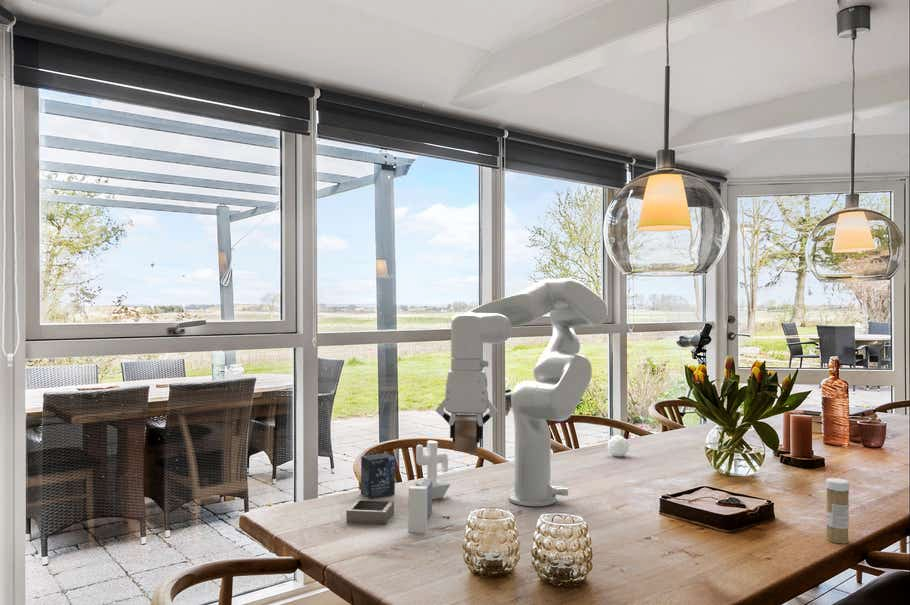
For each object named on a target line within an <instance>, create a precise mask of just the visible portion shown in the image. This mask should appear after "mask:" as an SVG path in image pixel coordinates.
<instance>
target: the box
mask: <svg viewBox="0 0 910 605" xmlns="http://www.w3.org/2000/svg"><path fill="white" fill-rule="evenodd" d="M360 461H361V464H360V495H362V496H363V497H365V498H367V499H368V500H372V499H374V498H380V497H385V496H394V495H396V493H395V492H396V491H395V490H396V487H395V486H396V456H394V455H392V454H389V453H386V452H384V453H376V454H370V455H369V454H368V455H361V460H360Z"/></svg>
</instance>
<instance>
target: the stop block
mask: <svg viewBox="0 0 910 605" xmlns="http://www.w3.org/2000/svg"><path fill="white" fill-rule="evenodd" d="M477 423H478V421H477V416H476V414H463V413H457V415H456V416H455V442H454V452H472V453H475V452H477V450H478V447H479V446H478V444H479V443H477V442H476V427H477Z"/></svg>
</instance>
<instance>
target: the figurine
mask: <svg viewBox="0 0 910 605" xmlns="http://www.w3.org/2000/svg"><path fill="white" fill-rule="evenodd" d="M438 446H439V442H438V441H437V440H433V439H431V440H426V452H427V453H425V454H424V447H423V445H422V444H417V445H416V447H415V450H416V451H415V456H416V457H415V459H416V460H415V462H416V464H417V465H418V466H420V467H421V466H422V467H423V466H426V471H427V472H426V479H431V480H432V500H435V499H436V500H437V499H442V498H444V497H445V495H446V493H447V491H448V489H449V487H450V486H451V483H448V482H447V481H444V480H442V479H440V478H438V464H440V470H441V472H443V473H447V472H448V471H449V457H448V454H447V452H444V451H443V452H442V451H440V452H438V448H439V447H438ZM423 481H424V479H423V480H419V481H413V482H414V486H420V485H421V484H422V482H423Z"/></svg>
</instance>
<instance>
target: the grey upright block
mask: <svg viewBox="0 0 910 605" xmlns="http://www.w3.org/2000/svg"><path fill="white" fill-rule="evenodd" d="M423 480H424V481H423ZM423 480H422V481H423V482H422V484H421V485H420V486H416V485H410V486H409V487H408V503H407V504H408V526H407V527H408V530H407V531H408V533H419V534H420V533H421V534H424V533H425V534H426V533H427V532H428V521H429V519H430V516H431V514H432V513H433V499H432V480H431V479H427V478H425V479H423Z"/></svg>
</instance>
